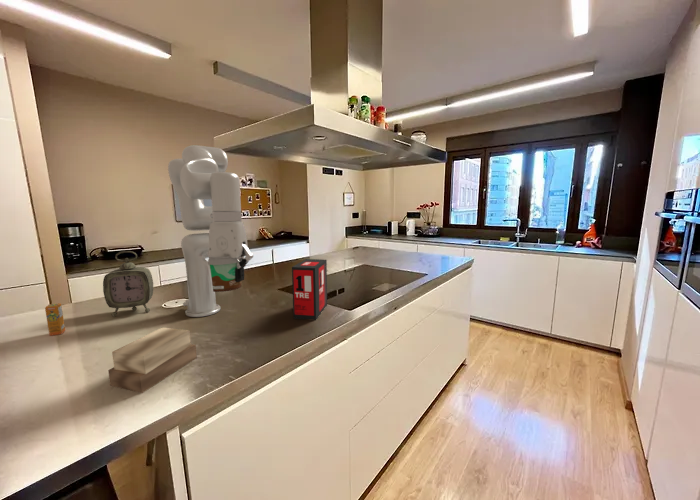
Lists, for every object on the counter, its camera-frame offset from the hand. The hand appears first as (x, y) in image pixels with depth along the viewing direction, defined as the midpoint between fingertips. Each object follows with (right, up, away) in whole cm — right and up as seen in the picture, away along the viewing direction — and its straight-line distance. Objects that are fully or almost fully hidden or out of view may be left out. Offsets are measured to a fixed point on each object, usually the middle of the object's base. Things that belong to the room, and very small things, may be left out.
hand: (231, 279), depth 84 cm
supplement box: (-64, -20, +13) cm, 68 cm away
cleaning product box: (+19, -17, +33) cm, 41 cm away
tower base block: (-16, -23, -9) cm, 29 cm away
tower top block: (-15, -19, -10) cm, 26 cm away
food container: (+1, -3, 0) cm, 3 cm away
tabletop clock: (-53, -17, +32) cm, 64 cm away
